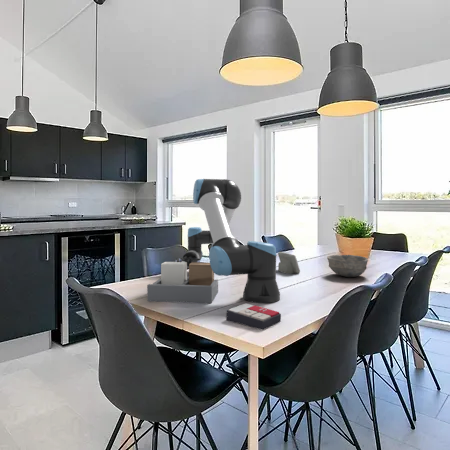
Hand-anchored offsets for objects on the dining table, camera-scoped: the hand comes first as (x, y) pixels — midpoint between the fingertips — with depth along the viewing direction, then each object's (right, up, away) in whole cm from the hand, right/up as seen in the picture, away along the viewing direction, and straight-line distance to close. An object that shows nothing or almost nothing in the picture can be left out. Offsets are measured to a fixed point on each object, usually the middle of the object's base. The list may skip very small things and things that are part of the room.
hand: (180, 266), depth 178 cm
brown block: (+11, -8, -12) cm, 18 cm away
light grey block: (-1, -8, -11) cm, 14 cm away
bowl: (+85, -8, +23) cm, 89 cm away
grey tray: (+4, -10, -18) cm, 22 cm away
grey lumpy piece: (+57, -7, +35) cm, 67 cm away
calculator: (+30, -13, -50) cm, 60 cm away
